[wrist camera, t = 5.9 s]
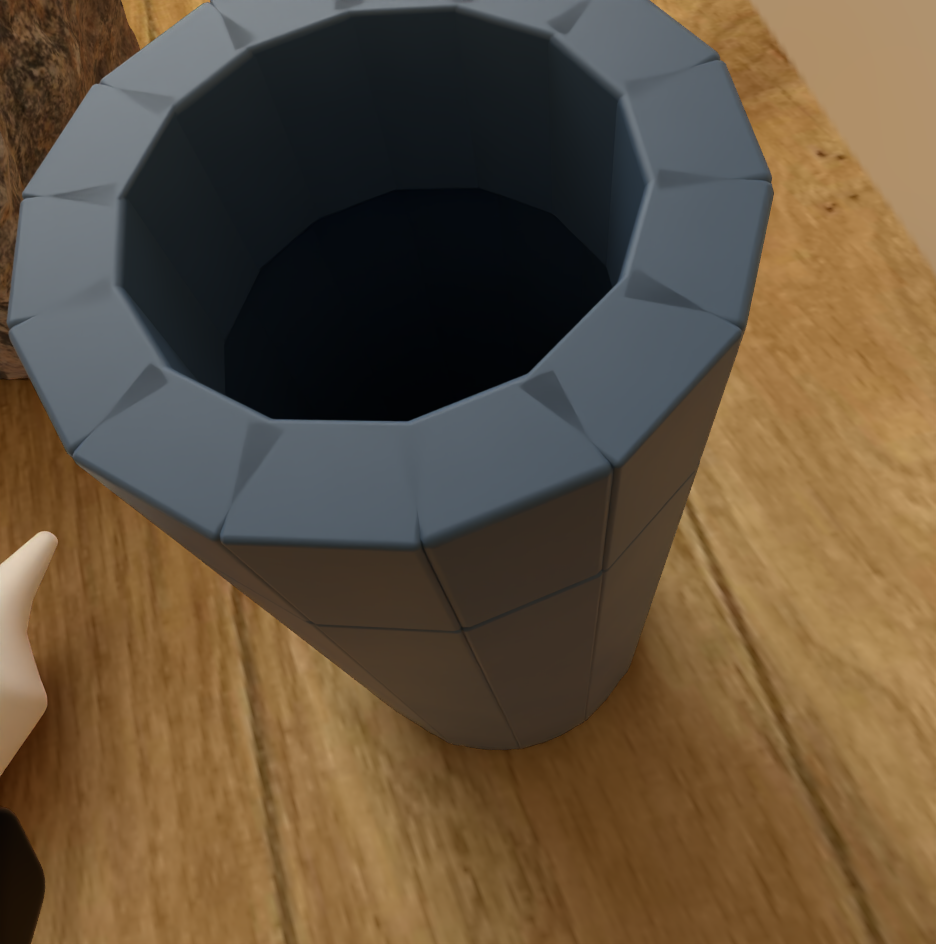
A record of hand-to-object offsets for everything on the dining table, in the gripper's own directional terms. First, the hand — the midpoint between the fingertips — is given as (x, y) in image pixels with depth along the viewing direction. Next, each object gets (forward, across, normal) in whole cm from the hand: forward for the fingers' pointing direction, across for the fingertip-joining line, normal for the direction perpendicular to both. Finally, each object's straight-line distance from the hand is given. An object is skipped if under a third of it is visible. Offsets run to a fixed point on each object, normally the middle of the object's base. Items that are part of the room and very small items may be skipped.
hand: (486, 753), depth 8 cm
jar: (+11, 0, +5) cm, 12 cm away
